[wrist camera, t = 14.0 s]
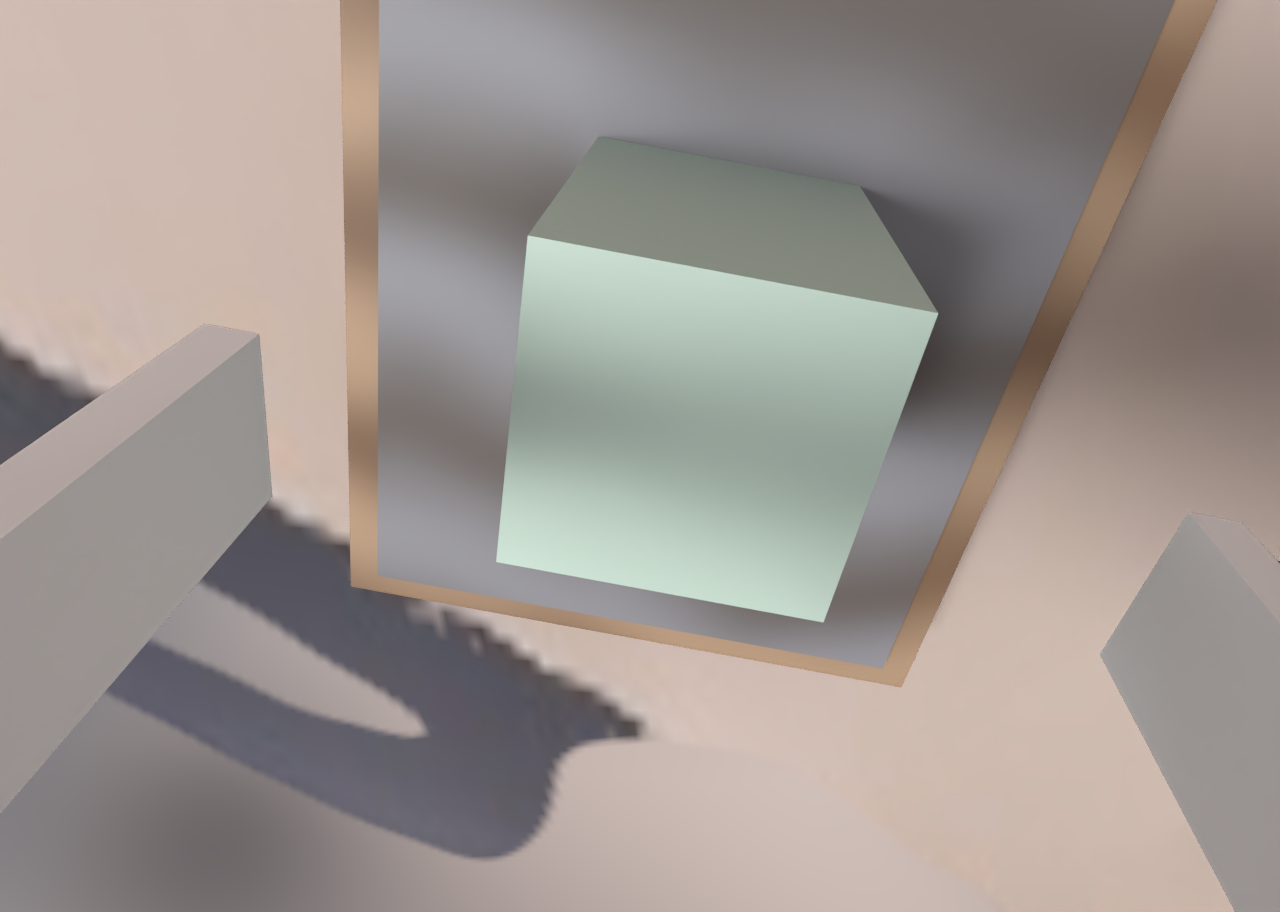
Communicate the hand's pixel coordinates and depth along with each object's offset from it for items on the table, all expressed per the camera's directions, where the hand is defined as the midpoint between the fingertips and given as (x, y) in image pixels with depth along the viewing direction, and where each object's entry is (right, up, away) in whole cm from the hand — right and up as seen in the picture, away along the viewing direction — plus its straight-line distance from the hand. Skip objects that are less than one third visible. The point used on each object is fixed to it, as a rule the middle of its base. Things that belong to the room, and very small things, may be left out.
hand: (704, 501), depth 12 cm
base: (+1, +7, +12) cm, 14 cm away
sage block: (+1, +5, +8) cm, 10 cm away
